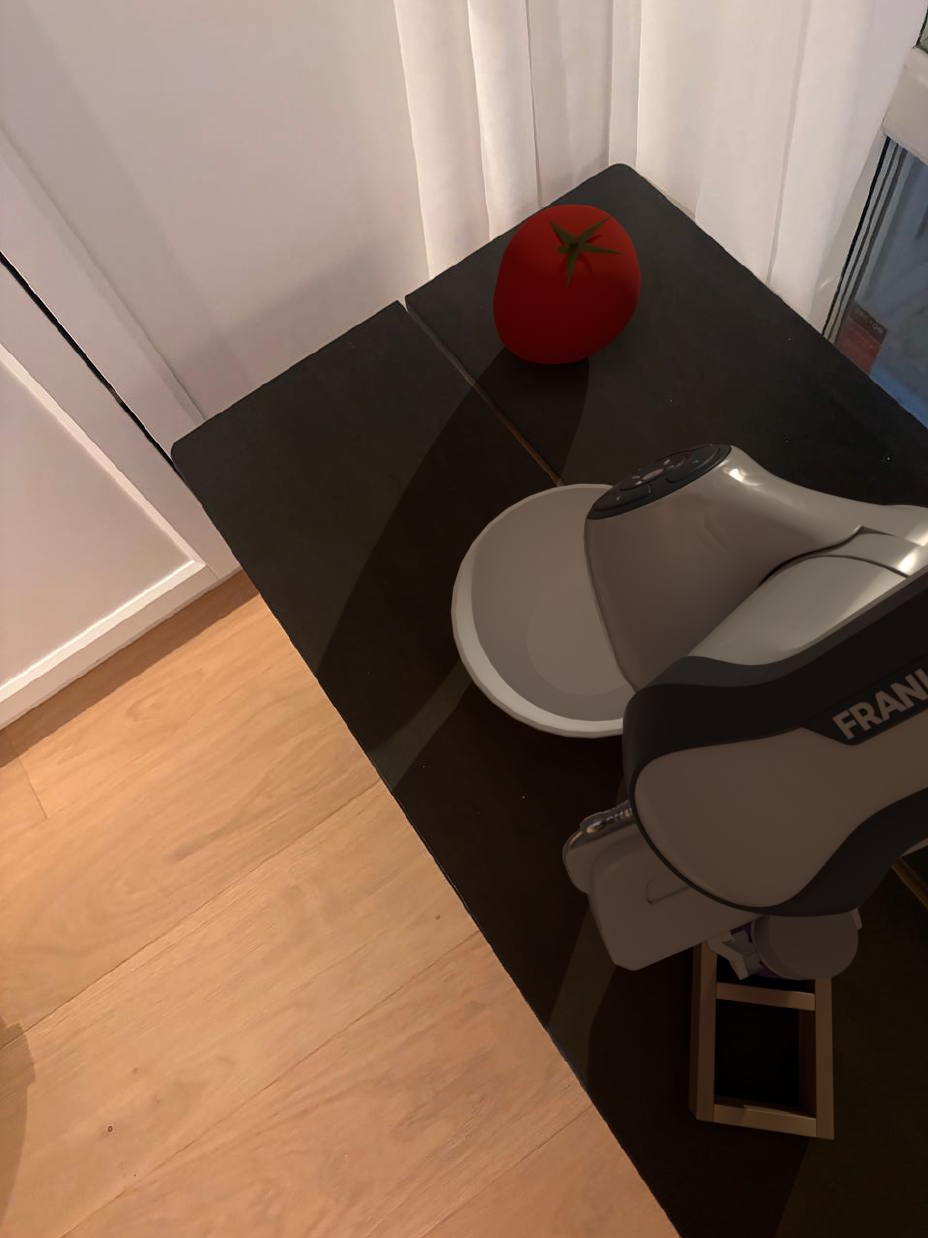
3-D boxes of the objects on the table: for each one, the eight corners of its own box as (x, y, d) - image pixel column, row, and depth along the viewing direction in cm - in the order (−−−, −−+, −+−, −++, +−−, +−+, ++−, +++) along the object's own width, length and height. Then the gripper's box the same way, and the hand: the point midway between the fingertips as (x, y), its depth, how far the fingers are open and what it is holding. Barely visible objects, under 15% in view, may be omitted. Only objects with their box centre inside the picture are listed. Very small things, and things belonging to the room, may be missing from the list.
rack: (811, 787, 66) (827, 774, 62) (815, 1126, 59) (834, 1140, 54) (698, 777, 68) (706, 763, 63) (688, 1107, 60) (696, 1119, 55)
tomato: (465, 332, 84) (448, 241, 74) (578, 248, 86) (577, 148, 76) (552, 415, 80) (546, 331, 69) (669, 325, 82) (681, 230, 71)
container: (712, 941, 61) (746, 935, 47) (756, 887, 62) (801, 866, 48) (771, 993, 59) (824, 1002, 45) (815, 937, 60) (880, 930, 46)
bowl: (428, 590, 76) (410, 548, 68) (640, 495, 76) (646, 442, 69) (525, 804, 68) (517, 784, 61) (759, 698, 69) (780, 665, 61)
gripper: (568, 872, 44) (647, 1062, 49) (958, 705, 44) (994, 913, 49) (537, 801, 49) (611, 978, 55) (881, 654, 50) (922, 845, 55)
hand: (795, 946), depth 52 cm, fingers closed on container, 5 cm apart
